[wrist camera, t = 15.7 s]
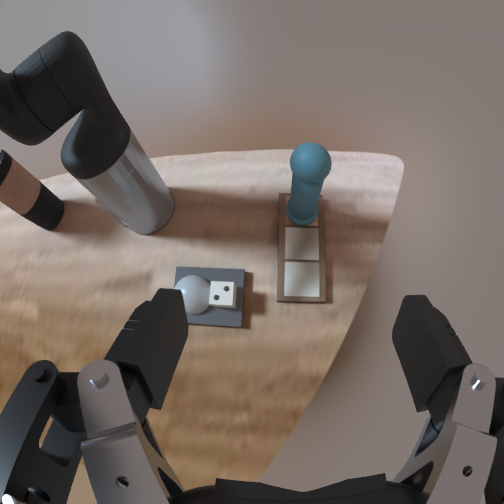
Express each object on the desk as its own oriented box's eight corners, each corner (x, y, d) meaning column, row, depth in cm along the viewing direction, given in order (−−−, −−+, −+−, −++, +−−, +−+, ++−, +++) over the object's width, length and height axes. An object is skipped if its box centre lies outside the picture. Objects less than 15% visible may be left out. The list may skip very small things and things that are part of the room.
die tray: (177, 322, 39) (162, 319, 34) (182, 271, 42) (169, 260, 36) (243, 327, 39) (238, 325, 33) (246, 274, 41) (242, 263, 35)
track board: (276, 301, 38) (277, 300, 36) (279, 197, 43) (279, 192, 42) (324, 302, 37) (326, 301, 36) (321, 198, 42) (322, 194, 41)
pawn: (285, 225, 40) (290, 167, 26) (285, 196, 41) (289, 132, 27) (318, 226, 39) (337, 170, 26) (317, 197, 41) (333, 135, 27)
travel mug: (51, 237, 44) (-17, 193, 26) (37, 223, 46) (-23, 180, 27) (70, 206, 46) (8, 153, 27) (55, 194, 48) (-1, 145, 29)
